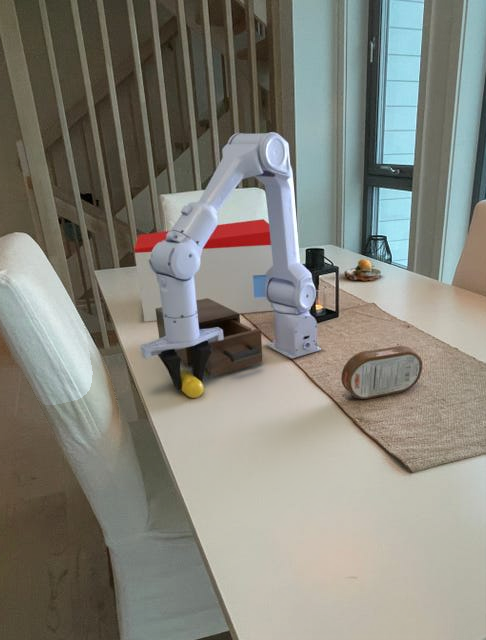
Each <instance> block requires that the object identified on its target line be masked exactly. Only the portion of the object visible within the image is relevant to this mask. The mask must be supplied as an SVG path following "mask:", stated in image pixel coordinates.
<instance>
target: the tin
mask: <svg viewBox="0 0 486 640" xmlns="http://www.w3.org/2000/svg"><path fill="white" fill-rule="evenodd" d="M422 371H423V360H422V358H421V357H420V355H419V354H418V353H416V351H414V350H413V348H411V347H409V346H407V345H397V346H389V347H383V348H378V349H369V350H365V351H360V352H358V353H356V354H354V355H353V356H352V357H350V358H349V359H348V360H347V361H346V363H345V364H344V366H343V368H342V372H341V377H340V379H341V384H342V386H343V388H344V389H345V390H346V391H347V392H348V393H349V394H350V395H352V396H353V397H354V398H356V399H360V400H368V399H373V398H378V397H385V396H390V395H394V394H401V393H404V392H406V391H409V390H410V389H411V388H413V387H414V386H415V385H416V384H417V383H418V381H419V380H420V378H421V374H422Z"/></svg>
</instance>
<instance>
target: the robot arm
mask: <svg viewBox="0 0 486 640" xmlns="http://www.w3.org/2000/svg"><path fill="white" fill-rule="evenodd" d="M221 154H222V158H221V160H220V162H219V164H218V165H217V167H216V169H215V171H214V173H213V175H212V176H211V178H210V180H209V182H208V184H207V186H206V188H205V189H204V191H203V193H202V195H201V197H200V199H198V201H195V202H194V201H191V202H189V203H188V204H187V205H184V206H182V208H181V210H180V213H181V214H180V216H179V218H178V219H177V221H176V222H175V223H174V224H173V227H172V228H171V229H170V230H168V231H169V232H168V233H167V235H166V240H164V241H161V242H159V243H157V244H156V245H155V246H154V248H153V250H152V252H151V259H149V260H148V263H149V266H150V268H151V269H152V271H153V272H155V274H156V276H157V282H158V283H159V288H160V296H161V303H162V311H163V319H164V326H165V334H166V336H165V337H162V338H160V339H159V338H158V339H155V340H152V341H150V342H147V343H144V344H140V345H139V347H140V353H141V356H142V358H144V359H145V360H148V359H151V358H152V357H154V356H157V357H159V359H160V361H161V362H162V363H163V365H164V367H165V368H166V371H167V372H168V374H169V376H170V379H171V381H172V384H173V387H174V388H175V389H176V390H177V391H182V390H181V389H182V380H181V373H180V370H181V364H182V361H181V358H180V357H179V356H177V353H176V352H175V350H178V349H182V348H186V347H188V348H189V351H190V355H191V360H192V365H191V367H192V375H193V376H195V377H196V378H197V379H199V380H200V381H201V382H202V383H203V381H204V373H205V370H206V368H205V366H206V363H207V360H208V358H209V356H210V354H211V352H212V346H210V345H209V344H208V342H210V341H214V340H218V341H220V340H223V330H222V329H220V328H219V327H215V328H210V329H201V330H199V324H198V314H197V304H196V294H195V284H194V275H195V274H196V272H197V271H198V270H199V268H200V257H201V254H202V249H203V247H204V246H205V244H206V242H207V241H208V239H209V238H210V236H211V234H212V233H213V231H214V230H215V228H216V227H217V225H219V220H218V214H217V213H218V212H219V211H220V209H221V208H222V207H223V205H224V204H225V203H226V201H227V200H228V199H229V197H230V196H231V195H232V194H233V192H234V191H235V189H236V188H237V186H238V185H239V184H240V182H241V181H242V180H244V179H247V178H251V177H254V178H255V179H256V180H257V181H259V182H260V183H261V185H264V190H265V191H264V192H265V201H266V208H267V219H268V224H269V229H270V239H271V248H272V258H273V266H272V267H271V268H270V269H269V270H268V271H267V272H266V277H267V281H266V286H265V296H266V298H267V300H268V301H269V302H270V303H271V307H272V308H273V309H274V311H273V326H274V327H273V328H274V329H273V330H274V341H272V342H268V343H267V344H266V347H268V348H270V349H272V350H274V351H276V352H277V353H280V354H281V355H283V356H285V357H287V358H289V359H296V358H299V357H303V356H305V355H306V356H307V355H308V354H312V353H315V352H318V351H319V352H320V351H321V347H320V346H318V322H317V319H316V318H315V317H314V316H313V315H312V314H311V313H310V311H309V310H311V308H312V306H313V305H314V303H315V301H316V297H317V296H316V295H317V290H316V286H315V284H314V281H313V275H312V273H311V272H310V270H309V269H308V268H307V267H306V266H304V264H302V262H301V257H300V247H299V235H298V234H299V233H298V221H297V211H296V199H295V198H296V197H295V186H294V173H293V168H292V165H291V158H290V145H289V142H288V141H287V140H286V139H285V138H284V137H283V136H282V135H280V134H279V133H277V132H274V131H269V132H267V133H265V132H264V133H263V132H262V133H241V132H237V133H234V134H233V135H231V136H230V137H229V139H228V141H227V144H225V145H224V146H223V147H222V150H221Z"/></svg>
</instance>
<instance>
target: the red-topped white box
mask: <svg viewBox="0 0 486 640" xmlns="http://www.w3.org/2000/svg"><path fill="white" fill-rule="evenodd" d="M169 231H170V230H165V231H158V232H151V233H142V234H138V236H137V238H136V242H135V245H134V249H133V251H134V259H135V264H136V265H135V267H136V272H137V273H136V274H137V280H138V287H139V293H140V301H141V307H142V314H143V321H144V322H145V323H146V322H157V318H156V310H155V309H156V308H160V307H162V303H161V296H160V288H159V283H158V282H157V276H156V274H155V272H153V271H152V269H151V268H150V266H149V263H148V260H149V259H151V252H152V250H153V248H154V246H155V245H156V244H157V243H159V242H161V241H164V240H166V235H167V233H168V232H169ZM272 266H273V258H272V248H271V239H270V229H269V222H267V220H265V219H264V218H261V219H253V220H246V221H237V222H232V223H231V222H229V223H222V224H221V223H220V224H218V225H217V227H216V228H215V230H214V231H213V233H212V234H211V236H210V238H209V239H208V241H207V242H206V244H205V246H204V247H203V249H202V254H201V257H200V268H199V270H198V271H197V272H196V274H195V275H194V284H195V294H196V300H201V299H206V298H209V299H211V300H213V301H215V302H217V303H219V304H221V305H223V306H225V307H227V308H229V309H231V310H233V311H235V312H237V313H239V314H240V315H241V314H250V313H260V312H261V313H262V312H274V309H273V308H272V307H271V303H270V302H269V301H268V300H267V298H266V296H265V286H266V281H267V277H266V272H267V271H268V270H269V269H270V268H271V267H272Z"/></svg>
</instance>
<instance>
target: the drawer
mask: <svg viewBox="0 0 486 640" xmlns="http://www.w3.org/2000/svg"><path fill="white" fill-rule="evenodd" d="M215 327H219V328H220V329H222V330H223V340H220V341H218V340H214V341H210V342H208V344H209V345H210V346H212V352H211V354H210V356H209V358H208V360H207V363H206V366H205V370H207V371H208V373H207V374H208V376H209V377H211V378H213V377H216V376H220V375H222V374H227V373H230V372H233V371H237V370H240V369H244V368H247V367H250V366H253V365H257V364H261V363H263V362H264V361H263V360H264V359H263V343H262V330H261V329H259V328H255V329H252V328H251V327H250V326H247V325H245V324H243V323H242V322H240V323H239V322H238V321H236V320H234V319H229V320H225V321H220V322H216V323H212V324H207V325H203V326H199V330H201V329H210V328H215ZM190 356H191V355H190Z"/></svg>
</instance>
